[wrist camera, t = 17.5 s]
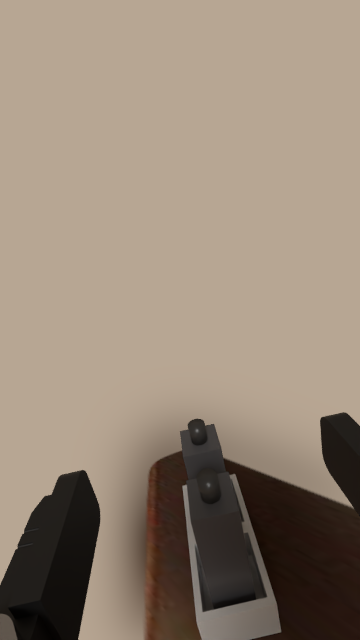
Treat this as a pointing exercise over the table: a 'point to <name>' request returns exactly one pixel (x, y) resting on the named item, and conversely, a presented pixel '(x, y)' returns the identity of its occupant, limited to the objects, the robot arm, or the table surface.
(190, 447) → the twin plug
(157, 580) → the table surface
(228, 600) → the plug
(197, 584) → the grey rectangular tray
